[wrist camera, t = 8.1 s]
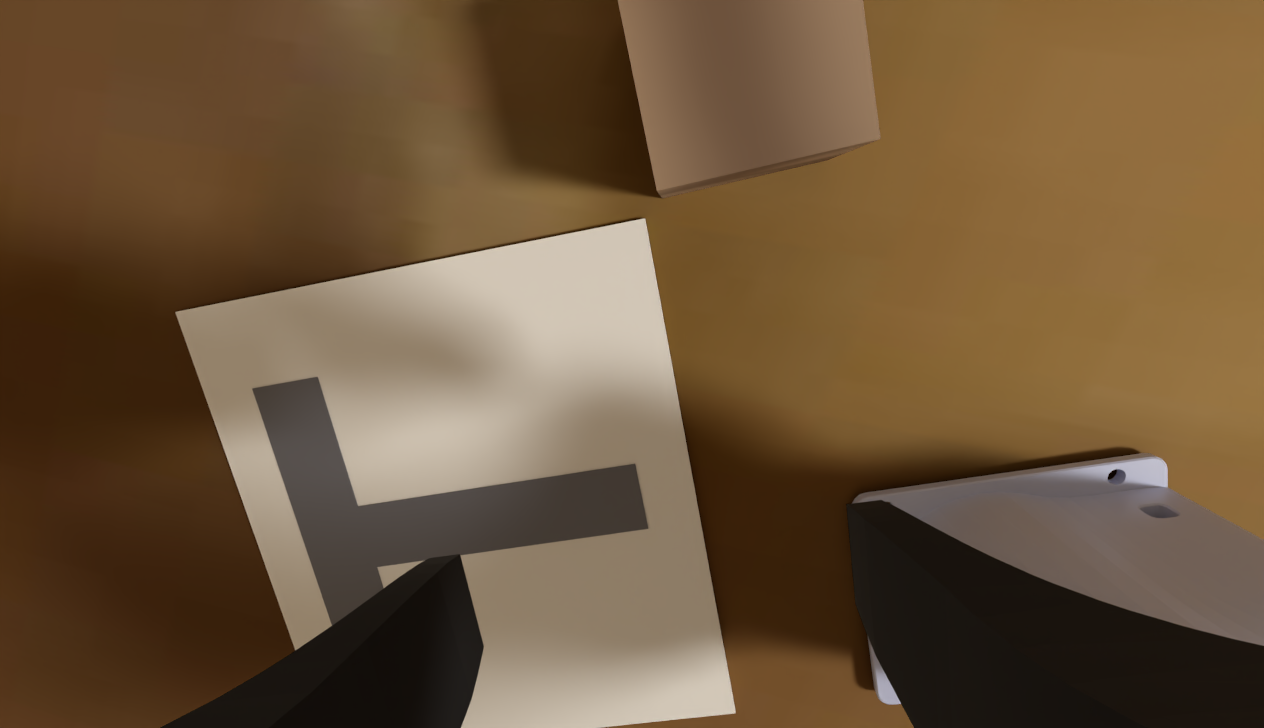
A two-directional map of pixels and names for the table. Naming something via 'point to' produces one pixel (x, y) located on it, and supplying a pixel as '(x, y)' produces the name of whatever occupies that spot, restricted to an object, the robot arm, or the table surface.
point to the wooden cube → (748, 86)
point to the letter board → (483, 467)
